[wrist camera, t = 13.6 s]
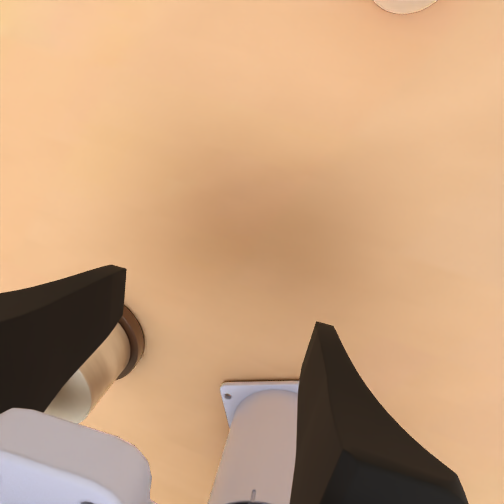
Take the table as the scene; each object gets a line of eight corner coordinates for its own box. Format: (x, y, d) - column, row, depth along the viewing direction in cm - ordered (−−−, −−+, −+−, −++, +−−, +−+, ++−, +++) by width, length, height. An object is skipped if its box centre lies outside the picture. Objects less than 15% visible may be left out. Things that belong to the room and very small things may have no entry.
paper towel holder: (139, 384, 30) (14, 566, 18) (56, 358, 30) (-118, 518, 19) (149, 307, 27) (11, 459, 15) (58, 280, 28) (-143, 408, 16)
